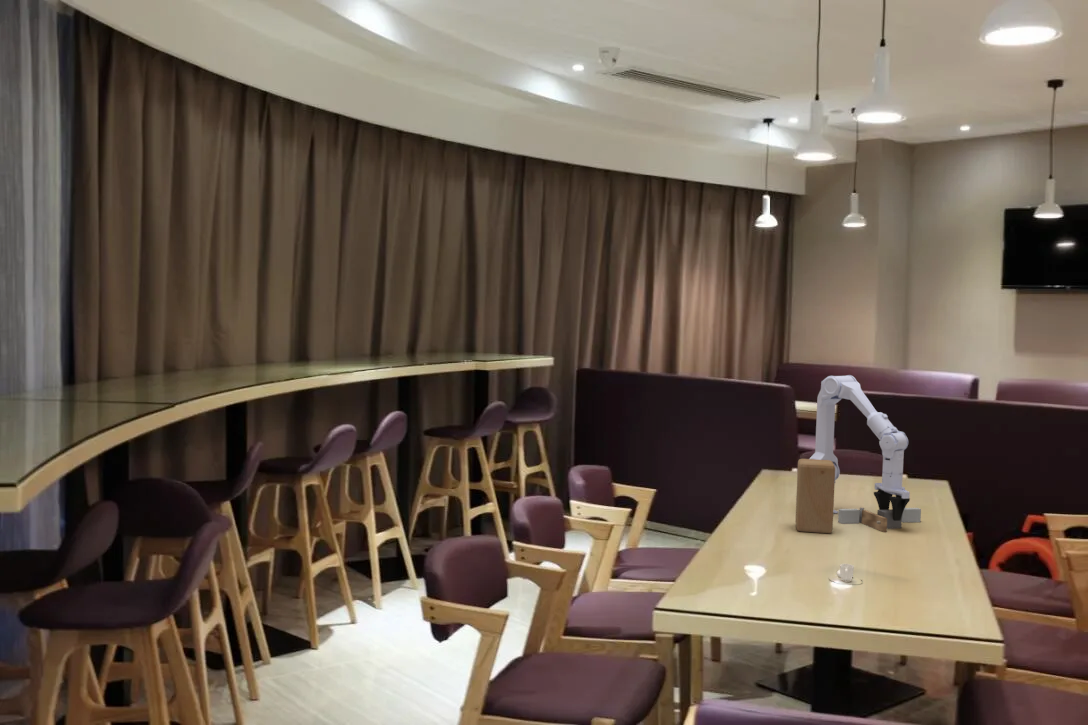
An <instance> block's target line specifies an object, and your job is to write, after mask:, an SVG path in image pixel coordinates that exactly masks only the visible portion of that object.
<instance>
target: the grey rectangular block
mask: <svg viewBox="0 0 1088 725" xmlns="http://www.w3.org/2000/svg"><path fill="white" fill-rule="evenodd" d="M876 512H877V513H876V514H877V515H880V516H882V517H885V518H887V530H888V529H891V530H892V529H902V525H903V524H902V523H903V522H902V517H901V520H900V521H894V520H893V512H892V508H891V509H890V508H889V510H879V509H877V511H876Z"/></svg>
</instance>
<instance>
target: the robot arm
mask: <svg viewBox="0 0 1088 725" xmlns="http://www.w3.org/2000/svg"><path fill="white" fill-rule="evenodd" d="M820 384H821V385H820V390H819V392H818V394H817V399H816V400H817V402H816V423H815V424H816V426H815V447H814V448H815V450H814V453H813V454H812V455H811V457H809V459H817V460H830V461H832V462H833V464H834V466H835V481H836V480H838V479H839V476H840V475H841V474H840V473H841V470H840V467H839V463H838V462H839V460H838V459H839V458H838V457H837V456H836V455H835V453H834V445H835V444H834V442H835V441H834V440H835V419H836V418H835V414H836V404H837V403H839V402H840V401H842V400H843V399H845V400H850V402H852V403H853V405H854V406H855V407H856V408H857V409H858V410H859V411H860V412H861V413H862V415H864V416H865V417H866V419H867V420H866V425H867V426H868V427H869V429H870V430H871V432H872V433H873V434H874V435H875V436H876V438H878V440H879V441H878V442H879V443H878V444H879V446H880V449H881V454H882V474H881V482H875V483H874V490H876V491H873V495H874V497H875V500H876V502H877V505H878V510H889V509H890V504H891V509H892V512H893V520H894V521H900V520H901V517H902V514H903V511H904V509H905V508H907V505H908V504H909V502H910V500H911V498H910V497H911V496H910V494H911V493H910V491H908V490H907V489H906V487H905V486H903V477H904V476H903V474H904V457H905V456H904V455H905V454H904V453H905V450H906V449H907V448H908V447H909V446H908V445H909V439H908V437H907V435H906V433H905V432H904V431H900V430H898V428H897V427H896V426H894V424H893V423H892V422H891V421H890V420H889V418H888V417H889V416H888V415H887V413H883V412H881V411H880V412H878V411H877V410H876V409H875V407H874V406H873V404H872V402H871V401H870V400H869V398H868V397H867V395H866V394H865V393H864V391H863V389H862V388H861V383H859V382H858V381H857V379H856V377H854V376H853V375H851V374H847V375H828V376H827V377H825V378H824V379H823V380H821V382H820ZM833 514H839V510H836V509H834V508H833Z"/></svg>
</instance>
